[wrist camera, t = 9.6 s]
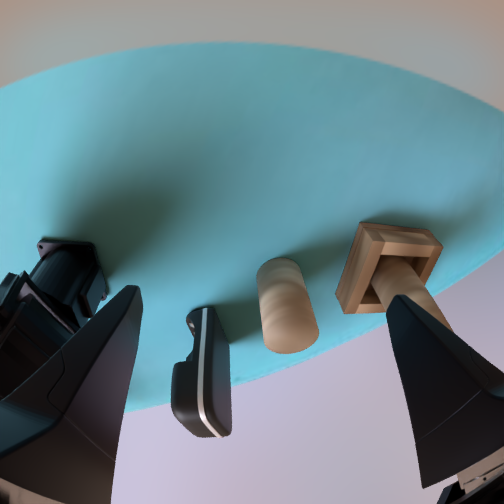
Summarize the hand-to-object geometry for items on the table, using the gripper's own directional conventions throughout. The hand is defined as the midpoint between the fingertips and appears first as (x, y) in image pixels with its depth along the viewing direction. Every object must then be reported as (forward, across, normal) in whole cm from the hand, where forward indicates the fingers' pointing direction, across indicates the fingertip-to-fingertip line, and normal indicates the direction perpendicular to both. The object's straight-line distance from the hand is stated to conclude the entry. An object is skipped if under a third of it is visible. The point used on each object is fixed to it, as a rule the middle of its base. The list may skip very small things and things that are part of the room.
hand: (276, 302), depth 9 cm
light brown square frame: (+13, -13, +7) cm, 20 cm away
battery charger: (+13, +3, +17) cm, 22 cm away
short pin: (+13, -4, +10) cm, 16 cm away
